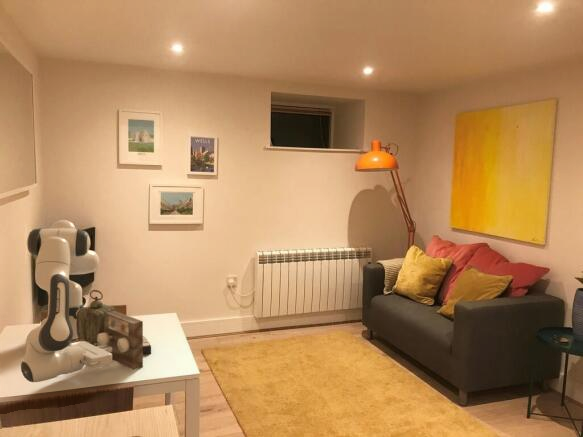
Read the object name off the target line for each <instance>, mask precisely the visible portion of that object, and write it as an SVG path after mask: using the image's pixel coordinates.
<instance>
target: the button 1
mask: <svg viewBox="0 0 583 437" xmlns="http://www.w3.org/2000/svg"><path fill="white" fill-rule="evenodd" d="M110 339H113V335H111V336H108V334H107V333H106V332H104V333H100V334H98V336H97V341H98V343H97V344H98V346H106V345H108V344H109V340H110Z"/></svg>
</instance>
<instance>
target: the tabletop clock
mask: <svg viewBox="0 0 583 437" xmlns="http://www.w3.org/2000/svg"><path fill="white" fill-rule="evenodd" d="M93 292H96V293H99V294H100V295H101V296H100V298H99V297H98V296H94V297H93V296H92V293H93ZM89 296H90V298H91V299H93V301H91V302H90V304H89V305H88V306H85V307H84V308H81V309H80V310H79V311H78V313H77V323H76V325H77V335H78V338H77V339H79V340H81V341H85V342H87V343H90V344H92V345H94V346H95V344H98V341H97V336H98V334H100V333H104V332H105V313H107V312H111V311H116V308H115V307H114V306H111V305H107V304H103V302H102V301H101V300H102V299H103V296H104V295H103V293H102V292H101V291H100V290H98V289H93V290H91V291H90V292H89Z"/></svg>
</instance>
